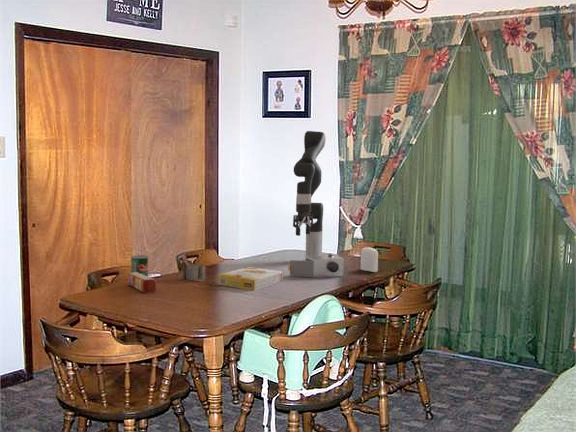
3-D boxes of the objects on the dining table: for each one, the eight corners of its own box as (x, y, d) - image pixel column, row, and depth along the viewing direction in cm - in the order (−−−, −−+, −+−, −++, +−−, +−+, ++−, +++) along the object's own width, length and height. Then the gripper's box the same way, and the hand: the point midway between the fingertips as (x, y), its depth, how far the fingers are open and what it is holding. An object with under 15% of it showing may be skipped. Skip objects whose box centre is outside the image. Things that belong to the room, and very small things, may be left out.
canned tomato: (144, 281, 339) (144, 258, 338) (128, 280, 340) (128, 257, 339) (150, 278, 347) (150, 255, 345) (135, 277, 348) (135, 254, 347)
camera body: (305, 272, 368) (305, 253, 367) (334, 271, 373) (335, 252, 372) (314, 278, 354) (315, 258, 353) (344, 276, 359) (345, 257, 358)
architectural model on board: (182, 280, 346) (182, 260, 344) (185, 279, 348) (185, 259, 347) (201, 282, 340) (201, 262, 339) (205, 281, 343) (205, 261, 342)
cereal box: (217, 274, 331) (247, 265, 356) (216, 286, 332) (247, 276, 357) (255, 279, 322) (283, 270, 347) (254, 291, 323) (283, 281, 348)
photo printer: (359, 269, 380) (359, 246, 379) (364, 269, 383) (365, 246, 381) (373, 272, 372) (373, 249, 371) (378, 271, 375) (379, 248, 374)
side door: (312, 276, 356) (313, 261, 355) (312, 277, 354) (312, 261, 354) (288, 275, 359) (288, 259, 358) (287, 275, 357) (288, 260, 356)
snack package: (126, 285, 329) (126, 271, 328) (140, 284, 332) (140, 270, 331) (142, 294, 311) (142, 279, 310) (157, 293, 314) (157, 278, 313)
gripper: (305, 201, 366) (304, 233, 368) (289, 202, 355) (288, 235, 357) (317, 202, 362) (317, 234, 364) (301, 203, 351) (300, 236, 352)
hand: (302, 234), depth 360 cm, fingers open, 8 cm apart
